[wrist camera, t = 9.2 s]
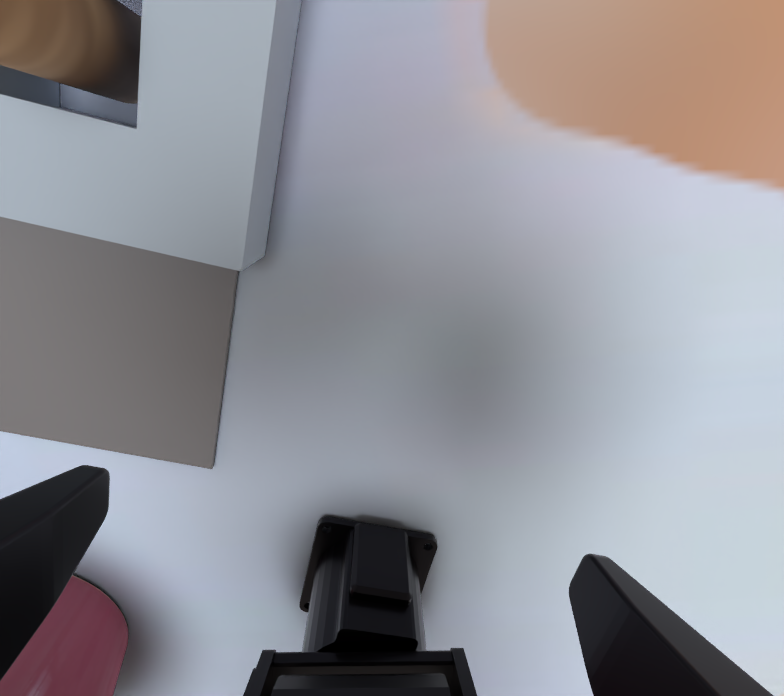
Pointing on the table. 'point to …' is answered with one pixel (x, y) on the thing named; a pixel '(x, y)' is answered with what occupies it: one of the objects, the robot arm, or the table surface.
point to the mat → (112, 344)
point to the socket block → (163, 137)
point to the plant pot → (72, 648)
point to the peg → (74, 44)
